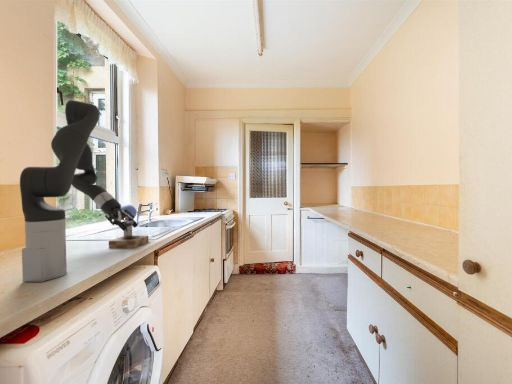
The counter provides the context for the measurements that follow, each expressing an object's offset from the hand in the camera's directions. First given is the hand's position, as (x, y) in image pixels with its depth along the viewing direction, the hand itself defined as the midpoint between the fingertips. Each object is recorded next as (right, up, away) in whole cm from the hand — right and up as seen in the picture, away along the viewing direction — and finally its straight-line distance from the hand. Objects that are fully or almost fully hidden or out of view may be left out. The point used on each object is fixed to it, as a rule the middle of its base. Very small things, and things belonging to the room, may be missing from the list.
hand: (131, 227), depth 112 cm
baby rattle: (-9, -8, +14) cm, 18 cm away
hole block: (-1, -8, 0) cm, 8 cm away
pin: (-2, -8, 0) cm, 8 cm away
